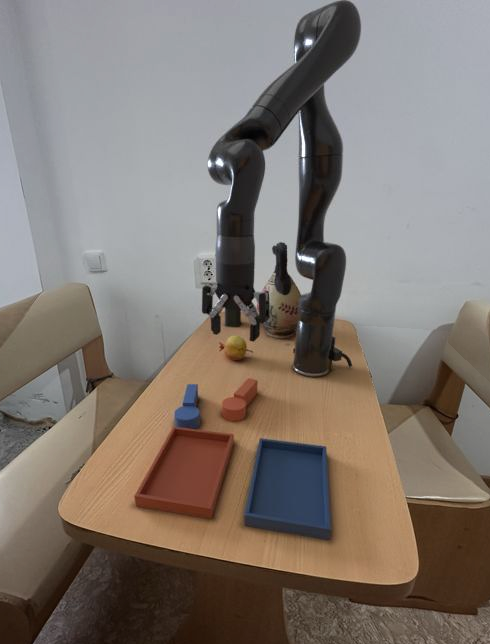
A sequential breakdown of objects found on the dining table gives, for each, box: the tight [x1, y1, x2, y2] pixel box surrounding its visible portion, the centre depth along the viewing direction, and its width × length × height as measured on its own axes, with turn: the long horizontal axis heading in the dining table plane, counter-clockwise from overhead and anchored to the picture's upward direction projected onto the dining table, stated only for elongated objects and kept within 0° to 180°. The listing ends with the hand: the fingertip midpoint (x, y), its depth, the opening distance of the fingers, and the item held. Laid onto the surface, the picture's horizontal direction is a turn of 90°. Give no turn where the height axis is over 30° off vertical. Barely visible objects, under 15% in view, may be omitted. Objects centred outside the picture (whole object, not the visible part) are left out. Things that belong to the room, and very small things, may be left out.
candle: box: [224, 308, 242, 328], centre depth 127 cm, size 5×5×25 cm
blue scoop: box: [173, 383, 201, 430], centre depth 81 cm, size 13×5×4 cm, turn 178°
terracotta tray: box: [133, 426, 235, 520], centre depth 65 cm, size 18×12×2 cm
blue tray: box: [243, 437, 332, 541], centre depth 61 cm, size 18×12×2 cm
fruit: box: [218, 335, 254, 361], centre depth 105 cm, size 7×7×10 cm
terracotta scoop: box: [221, 377, 259, 422], centre depth 83 cm, size 13×5×4 cm, turn 153°
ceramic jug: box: [256, 241, 302, 340], centre depth 117 cm, size 17×15×30 cm
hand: (234, 336), depth 78 cm, fingers open, 8 cm apart
